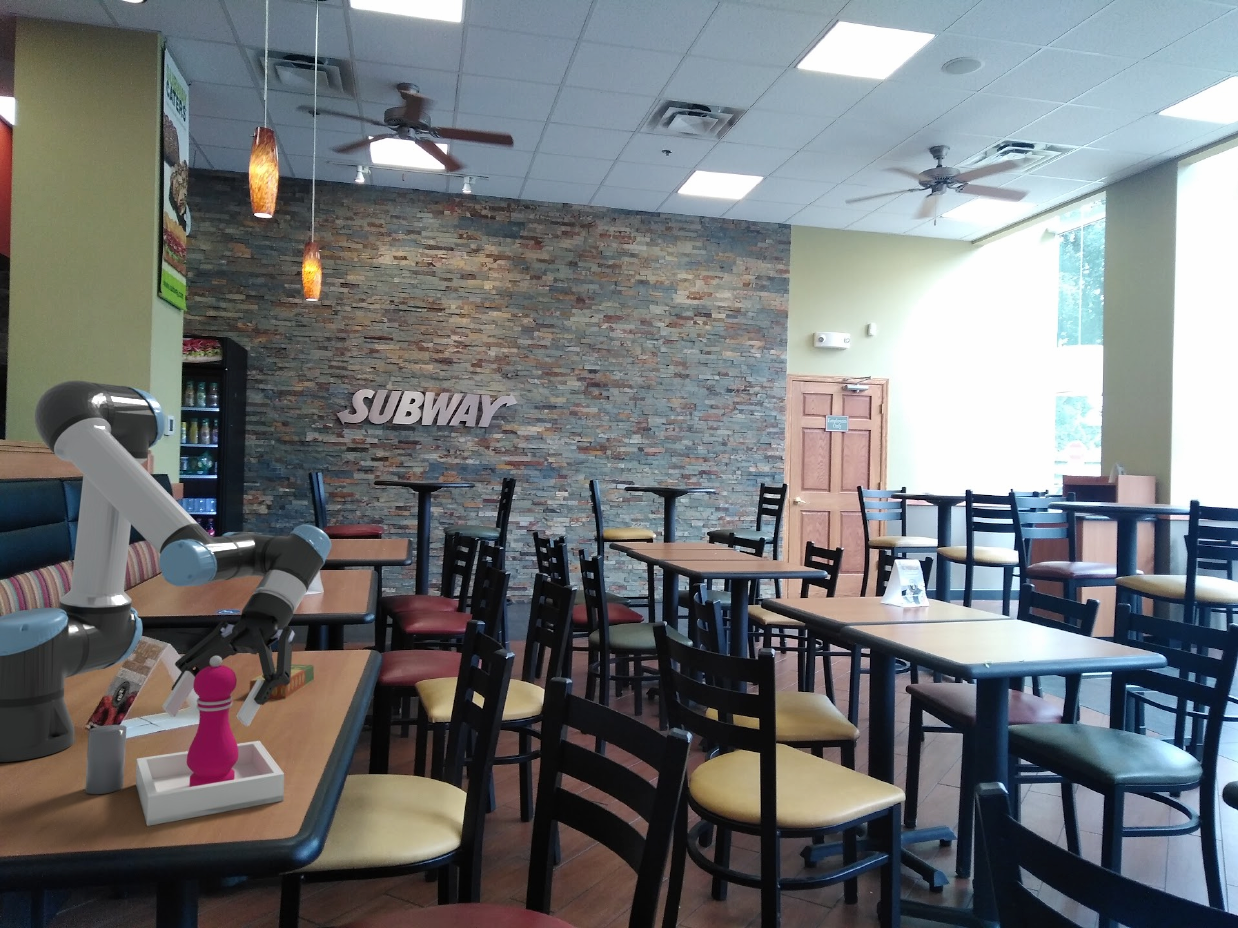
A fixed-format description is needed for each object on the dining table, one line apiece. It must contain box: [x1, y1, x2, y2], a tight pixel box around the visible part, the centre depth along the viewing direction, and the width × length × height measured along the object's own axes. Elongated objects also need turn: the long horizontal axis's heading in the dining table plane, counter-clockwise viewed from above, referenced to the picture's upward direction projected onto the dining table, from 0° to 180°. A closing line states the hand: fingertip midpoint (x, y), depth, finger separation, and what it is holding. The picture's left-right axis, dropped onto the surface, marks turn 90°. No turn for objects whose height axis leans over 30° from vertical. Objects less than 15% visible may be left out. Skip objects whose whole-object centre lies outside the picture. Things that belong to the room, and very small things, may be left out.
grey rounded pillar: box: [84, 724, 128, 795], centre depth 130 cm, size 5×5×9 cm
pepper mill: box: [187, 656, 239, 787], centre depth 130 cm, size 7×7×20 cm
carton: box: [248, 663, 315, 700], centre depth 190 cm, size 8×16×4 cm, turn 179°
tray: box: [135, 740, 285, 827], centre depth 130 cm, size 18×18×4 cm
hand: (204, 717), depth 128 cm, fingers open, 13 cm apart
